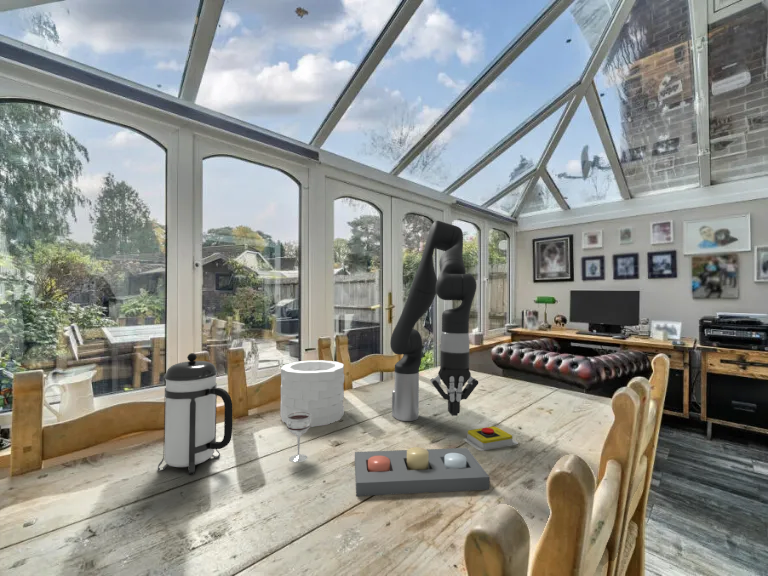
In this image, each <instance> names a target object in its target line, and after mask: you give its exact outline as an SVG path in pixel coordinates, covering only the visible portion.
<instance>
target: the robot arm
mask: <svg viewBox="0 0 768 576" xmlns="http://www.w3.org/2000/svg"><path fill="white" fill-rule="evenodd" d="M463 233H464V232H463V230H462V228H460V227H459V226H457V225H454V224H451V223H448V222H443V221H441V220H435V221H433V223H432V224H431V226H430V228H429V230H428V234H427V238H426V240H425V241H426V242H425V245H424V248H423V252H422V255H421V258H420V262H419V265H418V268H417V270H416V272H415V275H414V277H413V280H412V284H411V286H410V288H409V292H408V293H407V294H408V295H407V298H406V302H405V303H404V307H403V309H402V312H401V314H400V316H399V319H398V321H397V323H396V325H395V327H394V329H393V331H392V334H391V336H390V341H389V342H390V349H391V351H392V353H394V354H395V355H402V357H401V359H400V360H398V361H397V362H396V363H395V365H394V389H393V390H392V393H391V396H392V397H391V399H392V400H391V417H393V418H394V419H395V420H398V421H402V422H411V421H416V420H418V419H419V408H420V407H419V404H420V403H419V402H420V401H419V400H420V399H419V397H420V396H419V393H420V385H419V384H420V383H419V381H420V366H421V364H422V352H423V351H422V349H423V339H422V336H421V333H420V332H419V331H418V330H417V329H415V326H416V324H417V323H418V322H419V320H420V319H421V318H422V317H423V316H424V315H425V313H427V311H429V309H430V308H431V307H432V304H433V303H434V301H435V297H436V295H437V297H438V298H439V299H440V300H443V301H461V303H460V305H459V306H457V307H455V308H450V309H446V310H443V312H442V314H441V335H440V344H439V348H440V351H439V352H440V355H439V356H440V357H439V358H440V360H439V361H440V362H439V364H440V365H439V366H440V367H439V371H438V373H437V376H435V377H434V378H433V377H432V378H431V379H430V383H431V385H432V386H433V387H434V388H435V389H436V391H437V392H438V393H439V394H440V396H441V397H442V398H443V399H444V400H447V411H448V413H449V414H450V415H451V416H452V417H457V416H458V414H460V412H461V411H460V410H461V401H462V400H467V399H468V398H469V396H471V394H472V392H474V390H475V388H476V387H477V386H478V385H479V381H478V380H477V379H476V378H475V377H474V376H472V374H471V371H470V343H471V342H470V329H469V328H470V327H469V326H470V312H471V309H472V304H473V301H474V298H475V295H476V292H477V287H478V286H477V280H476V279H475V277H474V276H473V275H471V274H470V273H469V274H468V273H466V266H465V263H464V260H463V252H464V251H463V249H464V234H463ZM435 249H436V250H439V251H442V252H443V253H442V255H441V256H440V258H439V272H440V273H439V274H438V277H437V274H436V271H435V265H434V251H435ZM442 383H443V384H444V386H445V388H446V392H445V390H444V389H443V388H442V386H441V384H442ZM464 386H465V387H464ZM463 387H464V388H463Z"/></svg>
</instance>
